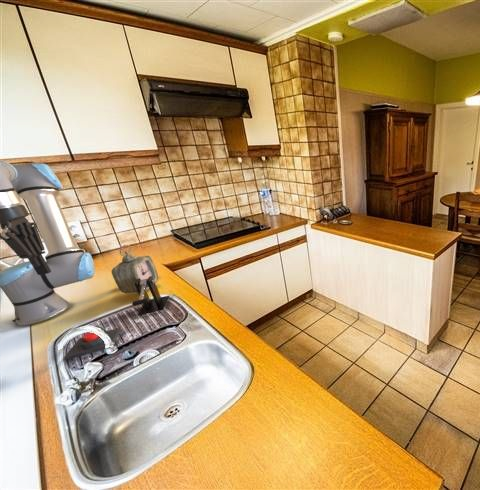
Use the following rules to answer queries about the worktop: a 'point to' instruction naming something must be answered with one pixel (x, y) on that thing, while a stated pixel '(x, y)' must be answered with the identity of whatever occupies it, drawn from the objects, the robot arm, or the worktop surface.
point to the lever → (142, 294)
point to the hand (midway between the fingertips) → (44, 273)
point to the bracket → (155, 303)
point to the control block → (90, 345)
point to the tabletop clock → (133, 271)
